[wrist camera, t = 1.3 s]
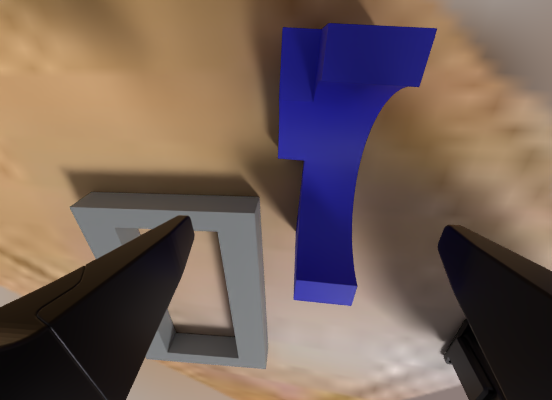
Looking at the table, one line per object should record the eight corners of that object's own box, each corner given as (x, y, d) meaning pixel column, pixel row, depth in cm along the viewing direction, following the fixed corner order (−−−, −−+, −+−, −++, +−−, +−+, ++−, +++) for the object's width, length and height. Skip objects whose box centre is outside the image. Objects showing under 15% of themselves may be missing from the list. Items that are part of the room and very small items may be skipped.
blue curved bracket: (286, 31, 12) (276, 20, 7) (380, 36, 12) (437, 28, 7) (275, 227, 19) (265, 296, 14) (337, 233, 18) (351, 305, 13)
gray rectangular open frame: (259, 196, 17) (254, 213, 15) (268, 348, 26) (265, 369, 25) (91, 191, 18) (69, 207, 16) (156, 339, 27) (146, 358, 26)
